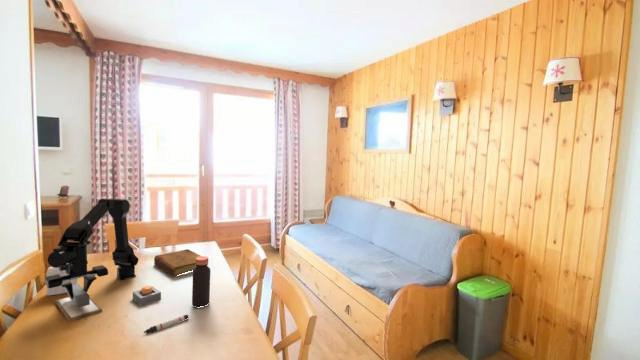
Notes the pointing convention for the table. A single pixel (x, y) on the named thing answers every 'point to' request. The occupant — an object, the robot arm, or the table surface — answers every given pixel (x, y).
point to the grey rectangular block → (79, 296)
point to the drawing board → (76, 309)
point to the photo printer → (60, 289)
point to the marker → (166, 324)
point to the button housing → (146, 296)
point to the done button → (146, 290)
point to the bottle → (201, 282)
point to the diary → (176, 262)
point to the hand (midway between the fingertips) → (78, 296)
